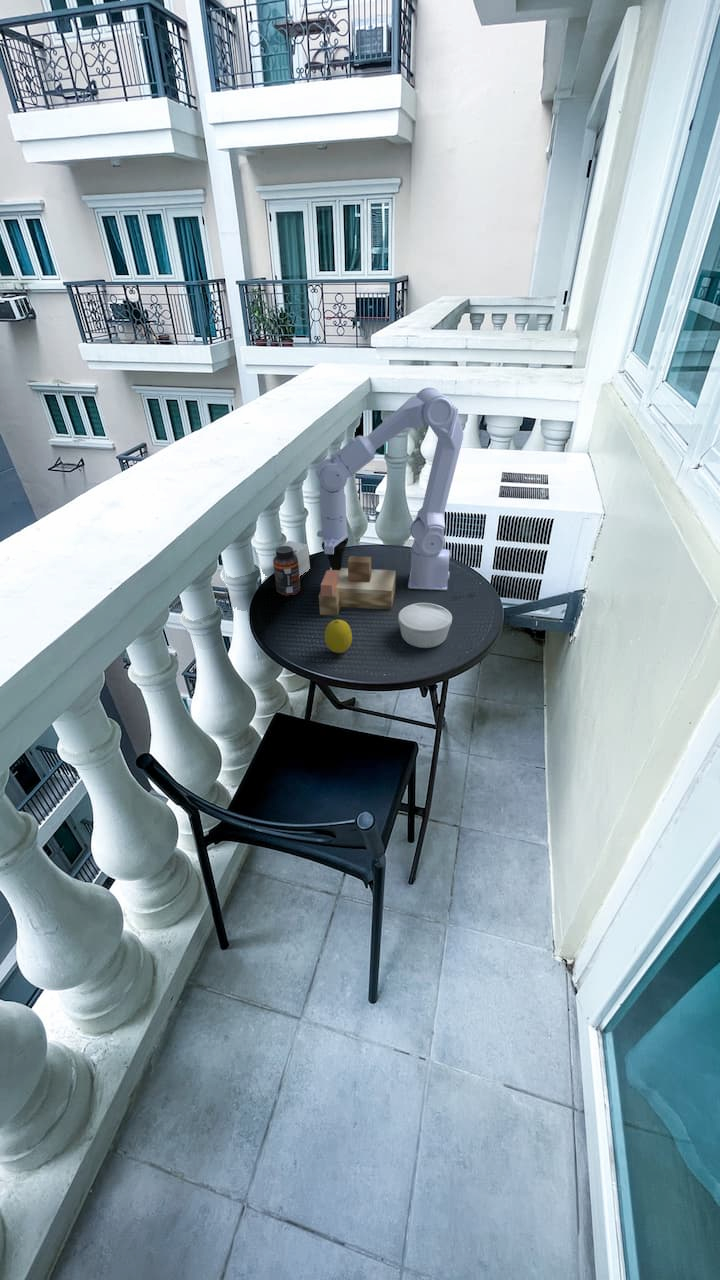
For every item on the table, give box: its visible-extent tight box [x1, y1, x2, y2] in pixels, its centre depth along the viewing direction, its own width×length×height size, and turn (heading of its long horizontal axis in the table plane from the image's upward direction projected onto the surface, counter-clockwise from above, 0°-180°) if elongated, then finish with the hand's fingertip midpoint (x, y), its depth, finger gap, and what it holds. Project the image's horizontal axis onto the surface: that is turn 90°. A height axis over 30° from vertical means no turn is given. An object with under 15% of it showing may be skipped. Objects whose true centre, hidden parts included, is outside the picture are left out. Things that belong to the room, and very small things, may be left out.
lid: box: [329, 555, 397, 595], centre depth 127 cm, size 16×10×6 cm, turn 82°
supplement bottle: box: [272, 545, 301, 597], centre depth 131 cm, size 6×6×11 cm
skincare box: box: [281, 540, 311, 577], centre depth 140 cm, size 6×6×7 cm
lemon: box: [324, 619, 353, 654], centre depth 110 cm, size 6×6×8 cm
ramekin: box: [397, 602, 453, 649], centre depth 115 cm, size 11×11×5 cm
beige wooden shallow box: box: [318, 575, 397, 617], centre depth 128 cm, size 16×14×5 cm
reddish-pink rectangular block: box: [320, 569, 338, 597], centre depth 123 cm, size 2×7×3 cm, turn 172°
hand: (336, 568), depth 130 cm, fingers closed
